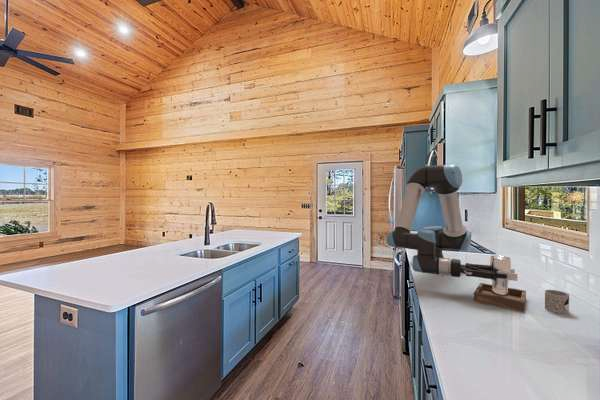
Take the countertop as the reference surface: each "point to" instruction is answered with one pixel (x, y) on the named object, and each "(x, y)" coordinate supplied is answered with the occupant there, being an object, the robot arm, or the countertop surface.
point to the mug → (557, 301)
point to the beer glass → (501, 266)
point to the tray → (501, 297)
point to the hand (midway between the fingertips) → (515, 274)
